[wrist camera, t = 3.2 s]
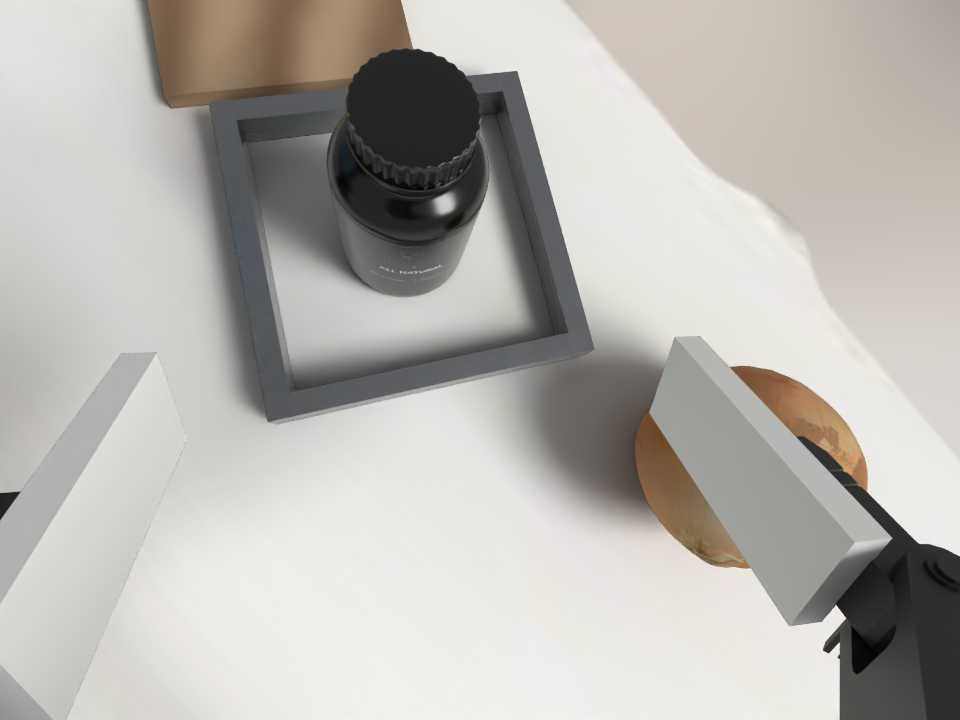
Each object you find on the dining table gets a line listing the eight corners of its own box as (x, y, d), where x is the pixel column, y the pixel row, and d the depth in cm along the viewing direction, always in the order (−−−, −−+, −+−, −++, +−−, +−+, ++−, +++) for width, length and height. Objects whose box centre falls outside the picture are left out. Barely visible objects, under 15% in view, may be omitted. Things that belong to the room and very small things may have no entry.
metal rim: (277, 424, 27) (267, 421, 25) (221, 125, 29) (208, 102, 27) (581, 356, 30) (594, 349, 28) (509, 94, 32) (517, 70, 30)
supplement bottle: (395, 324, 28) (396, 236, 17) (317, 231, 29) (265, 80, 17) (487, 254, 30) (546, 129, 18) (413, 166, 30) (425, -12, 19)
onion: (584, 520, 28) (683, 556, 19) (630, 355, 30) (740, 309, 21) (739, 574, 29) (912, 634, 19) (773, 409, 31) (942, 390, 22)
